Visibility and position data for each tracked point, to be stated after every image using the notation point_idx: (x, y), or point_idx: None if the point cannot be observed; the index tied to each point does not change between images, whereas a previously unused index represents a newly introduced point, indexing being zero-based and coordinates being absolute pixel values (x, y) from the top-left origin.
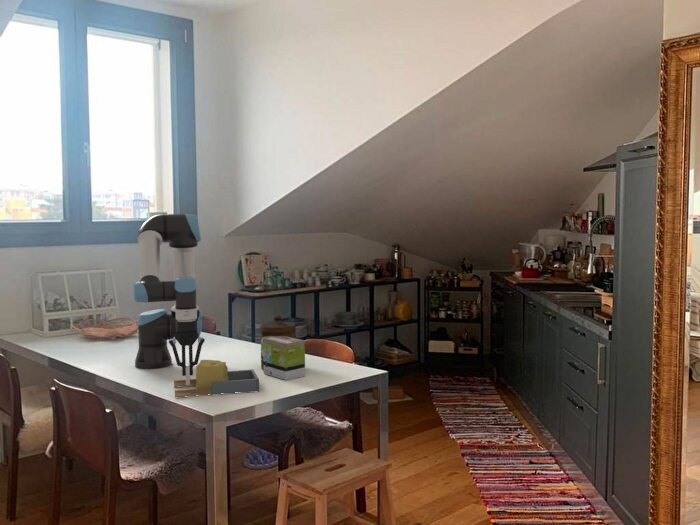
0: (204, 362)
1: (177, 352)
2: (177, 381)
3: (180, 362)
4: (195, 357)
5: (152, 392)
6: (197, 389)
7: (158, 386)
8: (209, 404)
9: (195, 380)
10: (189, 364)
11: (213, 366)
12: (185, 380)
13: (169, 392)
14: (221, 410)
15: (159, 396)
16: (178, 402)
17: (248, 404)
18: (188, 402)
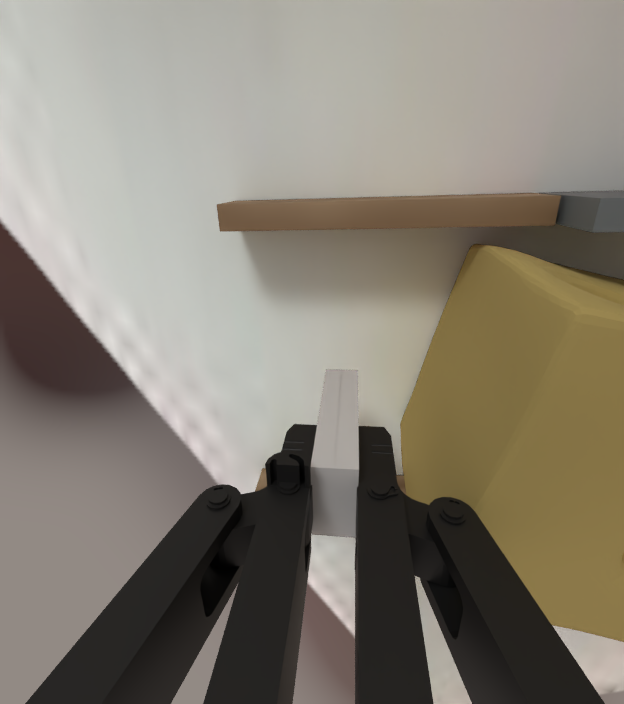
0: (581, 477)
1: (132, 673)
2: (253, 229)
3: (241, 550)
4: (462, 592)
5: (104, 320)
6: None
7: (102, 140)
8: (433, 620)
9: (421, 226)
10: (356, 563)
11: (620, 639)
12: (325, 229)
13: (218, 354)
14: (467, 693)
15: (170, 424)
16: None
17: (613, 672)
18: (336, 567)
